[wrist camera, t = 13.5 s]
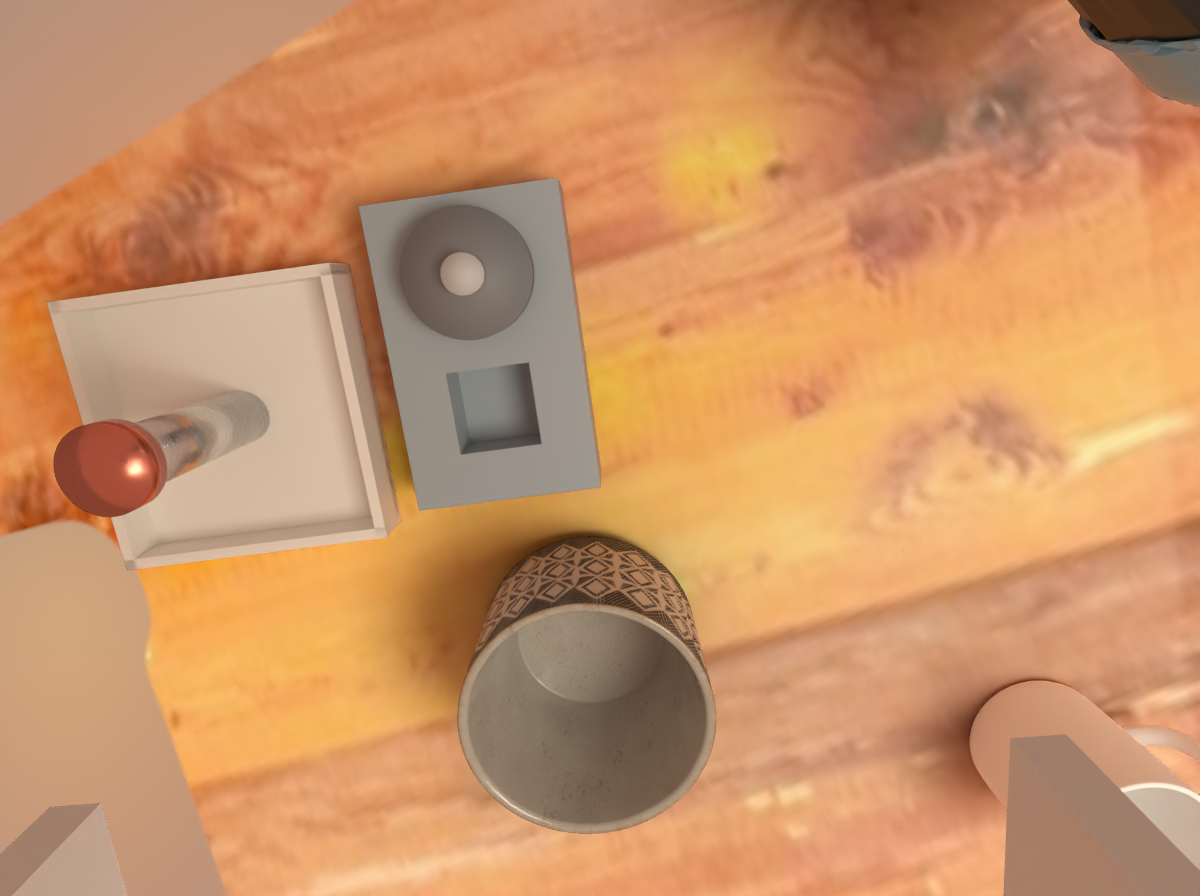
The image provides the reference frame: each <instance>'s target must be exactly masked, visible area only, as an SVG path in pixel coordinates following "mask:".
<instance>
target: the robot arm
mask: <svg viewBox="0 0 1200 896" xmlns="http://www.w3.org/2000/svg"><path fill="white" fill-rule="evenodd" d="M1068 1H1069V2H1070V3H1071V5H1072V6H1073V7H1074V8H1075V9H1076V10H1077V12H1078V13H1079V14H1080V20H1079V23H1080V26H1081V28H1082V29H1083V31H1084V32H1085V33H1086V35H1087V36H1088V37H1089V38H1090V39H1091V40H1092V41H1093V42H1094V43H1096V44H1098V45H1101V46H1102V47H1104V48H1106V49H1108V50H1110V51H1112V52H1113V53H1114V54H1115V55H1116V56H1117V57H1118V58H1119V59H1120V60H1121V61H1122V62H1123V63H1124V64H1125V65H1126V66H1127V67H1128V68H1129V69H1130V70H1131V71H1132V72H1133V73H1134V74H1135V75H1136V76H1137V78H1138V79H1139V80H1140V81H1141V82H1142V83H1143V84H1144V85H1145V86H1146V87H1147V88H1148V89H1150V90H1151V91H1152V92H1153V93H1155V94H1157V95H1158V96H1160V97H1162V98H1164V99H1168V100H1174V101H1178V102H1180V103H1183V104H1190V105H1193V106H1196V107H1200V0H1068ZM0 896H128V895H127V891H126V887H125V884H124V881H123V877H122V874H121V871H120V867H119V864H118V860H117V857H116V854H115V850H114V847H113V843H112V840H111V837H110V833H109V830H108V826H107V823H106V820H105V816H104V813H103V809H102V806H101V804H100V803H97V804H83V805H70V806H55V807H49V808H48V809H47V810H46V811H45V812H44V813H43V814H42V815H41V816H40V817H39V818H38V819H37V820H36V821H35V822H34V823H33V824H32V825H31V826H30V827H28V829H26V830H25V831H24V832H23V833H22V834H21V835H20V836H19V837H18V838H17V839H16V840H15V841H14V842H13V843H12V844H11V845H10V846H9V847H7V848H6V849H5V850H4V851H3V853H1V854H0ZM1004 896H1200V870H1199V869H1198V868H1197V867H1196V866H1195V865H1194V864H1193V863H1192V862H1191V861H1190V860H1189V859H1188V858H1187V857H1186V856H1185V855H1184V854H1183V853H1182V852H1181V851H1180V850H1179V849H1178V848H1177V847H1176V846H1175V845H1174V844H1173V843H1172V842H1171V841H1170V840H1169V839H1168V838H1167V837H1166V836H1165V835H1164V834H1163V833H1162V832H1161V831H1160V830H1159V828H1158V827H1157V826H1156V825H1155V824H1154V823H1153V822H1152V821H1151V820H1150V819H1149V818H1148V817H1147V816H1146V815H1145V814H1144V813H1143V812H1142V811H1141V810H1140V809H1139V808H1138V807H1137V806H1136V805H1135V804H1134V803H1133V802H1132V801H1131V800H1130V799H1129V798H1128V797H1127V796H1126V795H1125V794H1124V793H1123V792H1122V791H1121V790H1120V789H1119V788H1118V787H1117V786H1116V785H1115V784H1114V783H1113V782H1112V781H1111V780H1110V779H1109V778H1108V777H1107V776H1106V775H1105V774H1104V773H1103V771H1102V770H1101V769H1100V768H1099V767H1098V766H1097V765H1096V764H1095V763H1094V762H1093V761H1092V760H1091V759H1090V758H1089V757H1088V756H1087V755H1086V754H1085V753H1084V752H1083V751H1082V750H1081V749H1080V748H1079V747H1078V746H1077V745H1076V744H1075V743H1074V742H1073V741H1072V740H1071V739H1070V738H1069V737H1068V736H1067V735H1066V734H1064V735H1050V736H1036V737H1022V738H1010V757H1009V780H1008V803H1007V826H1006V849H1005V872H1004Z"/></svg>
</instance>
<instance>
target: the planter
mask: <svg viewBox="0 0 1200 896" xmlns="http://www.w3.org/2000/svg"><path fill="white" fill-rule="evenodd" d="M457 718H458V732H459V738H460V743H461V746H462V749H463V752H464V755H465V758H466V760H467V762H468V764H469V766H470V768H471V770H472V771H473V773H474V775H475V776H476V778H477V779H478V781H479V782H480V783H481V785H482V786H483V787H484V788H485V789H486V791H487V792H488V793H489V794H490V795H491V796H492V797H493V798H494V799H496V800H497V801H498V802H499V803H500V804H502V805H503V806H504V807H505V808H507V809H508V810H510V811H511V812H513V813H514V814H516V815H518V816H520V817H521V818H523V819H525V820H528V821H530V822H532V823H534V824H537V825H540V826H542V827H546V828H549V829H553V830H557V831H562V832H568V833H578V834H597V833H607V832H613V831H619V830H623V829H627V828H630V827H633V826H636V825H639V824H641V823H644V822H646V821H648V820H650V819H652V818H654V817H656V816H657V815H659V814H661V813H663V812H664V811H665V810H667V809H668V808H670V807H671V806H672V805H674V804H675V803H676V802H677V801H678V800H679V799H681V798H682V797H683V796H684V795H685V794H686V793H687V791H688V790H689V789H690V788H691V787H692V786H693V784H694V783H695V782H696V780H697V779H698V777H699V776H700V774H701V773H702V771H703V769H704V767H705V765H706V763H707V761H708V759H709V756H710V753H711V750H712V747H713V743H714V738H715V732H716V707H715V700H714V695H713V691H712V688H711V684H710V680H709V676H708V672H707V669H706V665H705V661H704V657H703V654H702V650H701V646H700V642H699V638H698V635H697V631H696V627H695V623H694V619H693V616H692V612H691V609H690V605H689V602H688V600H687V597H686V595H685V593H684V591H683V589H682V588H681V586H680V584H679V583H678V581H677V580H676V579H675V577H674V576H673V575H672V574H671V573H670V571H669V570H668V569H667V568H666V567H665V566H664V565H663V564H661V563H660V562H659V561H658V560H657V559H655V558H654V557H653V556H651V555H650V554H648V553H646V552H645V551H643V550H641V549H639V548H637V547H635V546H632V545H630V544H627V543H624V542H621V541H618V540H614V539H608V538H601V537H578V538H571V539H566V540H562V541H558V542H555V543H552V544H549V545H547V546H545V547H542V548H540V549H538V550H537V551H535V552H533V553H532V554H530V555H528V556H527V557H526V558H524V559H523V560H522V561H520V562H519V563H518V564H517V565H516V566H515V567H514V568H513V569H512V570H511V571H510V572H509V573H508V575H507V576H506V577H505V578H504V580H503V581H502V583H501V584H500V586H499V587H498V589H497V591H496V593H495V595H494V597H493V600H492V603H491V605H490V608H489V611H488V614H487V617H486V620H485V623H484V625H483V628H482V631H481V634H480V637H479V640H478V643H477V646H476V648H475V651H474V654H473V657H472V660H471V663H470V666H469V669H468V671H467V674H466V677H465V680H464V683H463V686H462V689H461V693H460V697H459V703H458V715H457Z"/></svg>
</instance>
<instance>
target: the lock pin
mask: <svg viewBox="0 0 1200 896" xmlns="http://www.w3.org/2000/svg"><path fill="white" fill-rule="evenodd" d="M269 423H270V416H269V412H268V409H267V407H266V405H265V404H264V402H263V401H262V400H261V399H260V398H259V397H257V396H256V395H254V394H252V393H249V392H246V391H236V392H232V393H229V394H226V395H223V396H219V397H216V398H213V399H210V400H206V401H203V402H200V403H197V404H193V405H190V406H187V407H184V408H180V409H177V410H174V411H171V412H168V413H164V414H161V415H158V416H155V417H151V418H148V419H145V420H142V421H138V422H135V423H133V422H130V421H127V420H122V419H105V420H101V421H97V422H94V423H90V424H87V425H83V426H80V427H77V428H75V429H73V430H71V431H70V432H69V433H67V434H66V435H65V436H64V437H63V438H62V439H61V441H60V442H59V444H58V446H57V448H56V451H55V455H54V473H55V477H56V480H57V482H58V484H59V486H60V488H61V490H62V491H63V493H64V494H65V495H66V497H67V498H68V499H69V500H70V501H71V502H72V503H73V504H75V505H76V506H77V507H79V508H80V509H82V510H84V511H86V512H88V513H90V514H93V515H96V516H101V517H118V516H122V515H125V514H128V513H130V512H132V511H134V510H136V509H138V508H140V507H142V506H144V505H146V504H148V503H150V502H151V501H153V500H154V499H155V498H156V497H157V496H158V495H159V494H160V492H161V491H162V489H163V487H164V485H165V483H166V482H168V481H170V480H172V479H174V478H176V477H178V476H181V475H183V474H185V473H187V472H189V471H191V470H193V469H196V468H198V467H200V466H202V465H204V464H206V463H208V462H211V461H213V460H215V459H217V458H219V457H221V456H223V455H225V454H228V453H230V452H232V451H234V450H236V449H238V448H240V447H243V446H245V445H247V444H249V443H251V442H253V441H255V440H258V439H259V438H261V437H262V436H263V435H264V434H265V433H266V431H267V429H268V427H269Z"/></svg>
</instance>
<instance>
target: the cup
mask: <svg viewBox="0 0 1200 896" xmlns="http://www.w3.org/2000/svg"><path fill="white" fill-rule="evenodd" d="M1064 734H1066V735H1067V736H1068V737H1069V738H1070V739H1071V740H1072V741H1073V742H1074V743H1075V744H1076V745H1077V746H1078V747H1079V748H1080V749H1081V750H1082V751H1083V752H1084V753H1085V754H1086V755H1087V756H1088V757H1089V758H1090V759H1091V760H1092V761H1093V762H1094V763H1095V764H1096V765H1097V766H1098V767H1099V768H1100V769H1101V770H1102V771H1103V773H1104V774H1105V775H1106V776H1107V777H1108V778H1109V779H1110V780H1111V781H1112V782H1113V783H1114V784H1115V785H1116V786H1117V787H1118V788H1119V789H1120V790H1121V791H1122V792H1123V793H1124V794H1125V795H1126V796H1127V797H1128V798H1129V799H1130V800H1131V801H1132V802H1133V803H1134V804H1135V805H1136V806H1137V807H1138V808H1139V809H1140V810H1141V811H1142V812H1143V813H1144V814H1145V815H1146V816H1147V817H1148V818H1149V819H1150V820H1151V821H1152V822H1153V823H1154V824H1155V825H1156V826H1157V827H1158V828H1159V830H1160V831H1161V832H1162V833H1163V834H1164V835H1165V836H1166V837H1167V838H1168V839H1169V840H1170V841H1171V842H1172V843H1173V844H1174V845H1175V846H1176V847H1177V848H1178V849H1179V850H1180V851H1181V852H1182V853H1183V854H1184V855H1185V856H1186V857H1187V858H1188V859H1189V860H1190V861H1191V862H1192V863H1193V864H1194V865H1195V866H1196V867H1197V868H1198V869H1199V870H1200V793H1199V794H1198V793H1196V792H1195V791H1194V790H1193V789H1192V788H1191V787H1190V786H1188V785H1187V784H1186V783H1185V782H1184V781H1183V780H1181V779H1180V778H1179V777H1178V776H1177V775H1176V774H1175V773H1173V772H1172V771H1171V770H1170V769H1169V768H1168V767H1166V766H1165V765H1164V764H1163V763H1162V762H1161V761H1159V760H1158V759H1157V758H1156V757H1155V756H1154V755H1153V754H1151V753H1150V752H1149V751H1148V750H1147V749H1146V748H1144V747H1143V746H1150V745H1159V746H1166V747H1170V748H1174V749H1176V750H1179V751H1181V752H1183V753H1185V754H1187V755H1189V756H1191V757H1192V758H1194V759H1195V760H1197V761H1198V762H1199V763H1200V741H1199V740H1198V739H1196V738H1194V737H1192V736H1190V735H1188V734H1185V733H1183V732H1180V731H1178V730H1174V729H1171V728H1167V727H1162V726H1155V725H1133V726H1125V727H1120V726H1119V725H1118V724H1117V723H1116V722H1114V721H1113V720H1112V719H1111V718H1110V717H1109V716H1108V715H1106V714H1105V713H1104V712H1103V711H1102V710H1101V709H1099V708H1098V707H1097V706H1096V705H1095V704H1094V703H1092V702H1091V701H1090V700H1089V699H1087V698H1086V697H1085V696H1084V695H1082V694H1081V693H1079V692H1077V691H1076V690H1074V689H1072V688H1070V687H1068V686H1066V685H1063V684H1059V683H1056V682H1051V681H1027V682H1022V683H1018V684H1015V685H1012V686H1009V687H1007V688H1005V689H1003V690H1002V691H1000V692H998V693H997V694H995V695H994V696H993V697H992V698H990V699H989V700H988V701H987V702H986V703H985V704H984V705H983V707H982V708H981V709H980V711H979V712H978V714H977V716H976V717H975V720H974V722H973V725H972V728H971V733H970V752H971V756H972V760H973V762H974V765H975V767H976V768H977V770H978V772H979V774H980V775H981V777H982V778H983V780H984V781H985V783H986V784H987V785H988V787H989V788H990V789H991V791H992V792H993V793H994V795H995V796H996V797H997V799H998V800H999V801H1000V803H1001V804H1002V805H1003V806H1004V808H1005V809H1006V810H1007V803H1008V780H1009V757H1010V738H1022V737H1036V736H1050V735H1064Z"/></svg>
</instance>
